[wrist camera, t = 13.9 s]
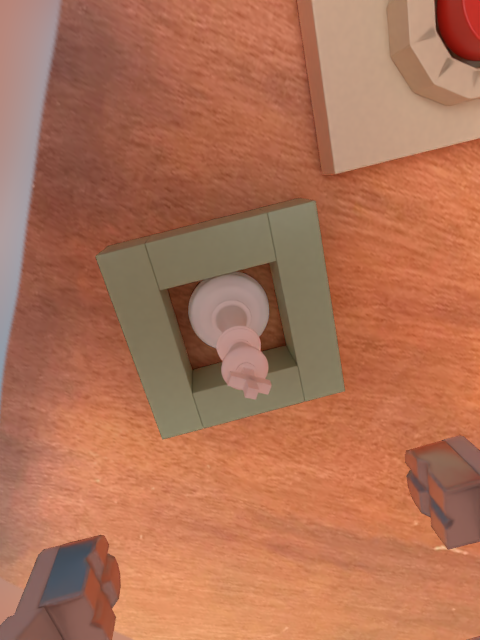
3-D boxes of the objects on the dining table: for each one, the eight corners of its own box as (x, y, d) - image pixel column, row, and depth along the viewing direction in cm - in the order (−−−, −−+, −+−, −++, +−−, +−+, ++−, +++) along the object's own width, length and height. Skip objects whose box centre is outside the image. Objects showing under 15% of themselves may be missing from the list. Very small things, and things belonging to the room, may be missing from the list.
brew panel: (321, 175, 22) (348, 174, 18) (285, -73, 18) (309, -138, 14) (558, 116, 22) (631, 103, 19) (572, -140, 19) (668, -220, 15)
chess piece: (254, 355, 25) (290, 458, 16) (178, 336, 24) (170, 435, 15) (279, 283, 24) (335, 350, 15) (200, 260, 23) (207, 317, 14)
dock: (165, 411, 26) (162, 440, 23) (107, 246, 22) (94, 255, 19) (329, 368, 26) (345, 391, 23) (300, 197, 22) (315, 200, 20)
